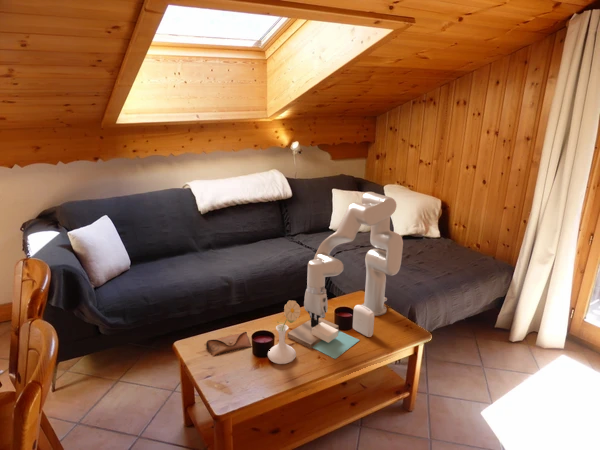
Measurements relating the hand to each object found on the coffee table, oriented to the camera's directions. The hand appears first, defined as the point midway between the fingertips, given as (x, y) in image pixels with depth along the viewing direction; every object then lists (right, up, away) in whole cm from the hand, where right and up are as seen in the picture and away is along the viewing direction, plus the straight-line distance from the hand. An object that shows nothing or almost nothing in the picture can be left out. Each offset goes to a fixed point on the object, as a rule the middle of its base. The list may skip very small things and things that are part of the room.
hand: (314, 325), depth 180 cm
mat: (+9, -6, -6) cm, 13 cm away
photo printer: (+22, -4, +4) cm, 22 cm away
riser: (0, -4, +1) cm, 4 cm away
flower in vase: (-13, -9, -16) cm, 22 cm away
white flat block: (+4, -3, -3) cm, 6 cm away
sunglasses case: (-36, -7, -9) cm, 38 cm away
